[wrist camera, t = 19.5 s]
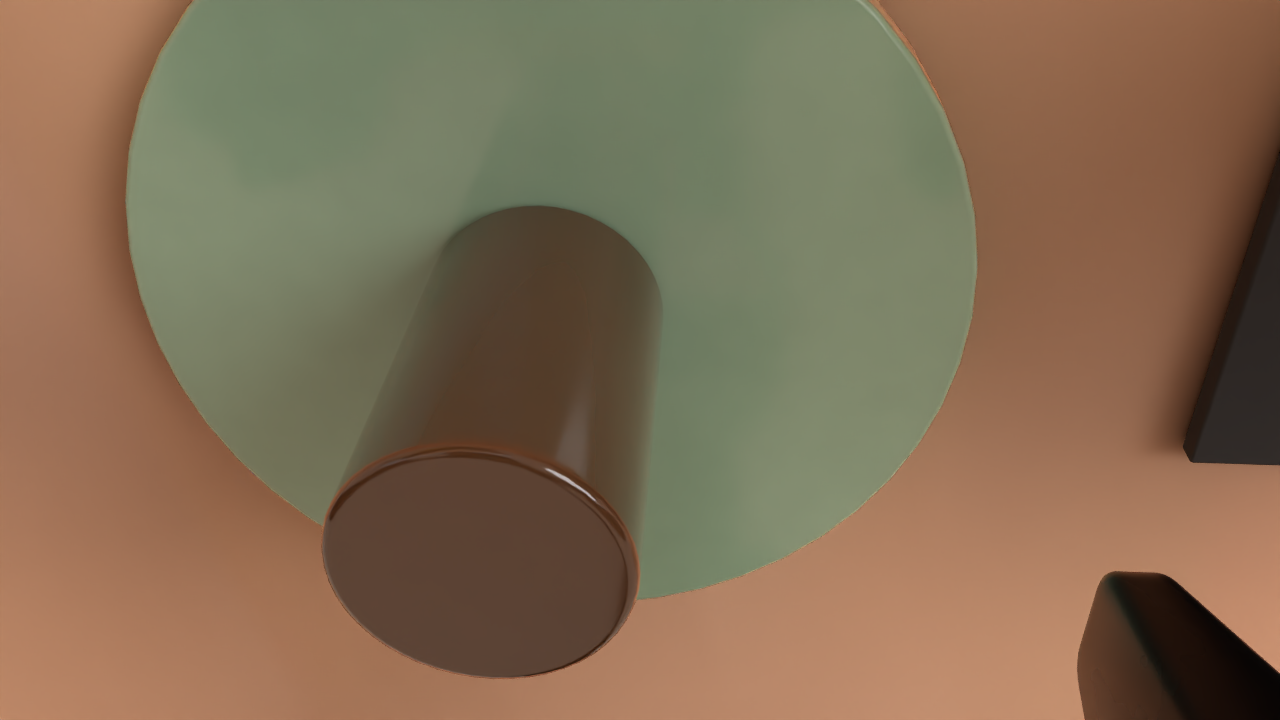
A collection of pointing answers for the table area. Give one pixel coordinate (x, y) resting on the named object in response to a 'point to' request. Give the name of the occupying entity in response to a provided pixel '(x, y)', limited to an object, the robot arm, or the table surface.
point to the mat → (1246, 358)
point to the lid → (551, 290)
